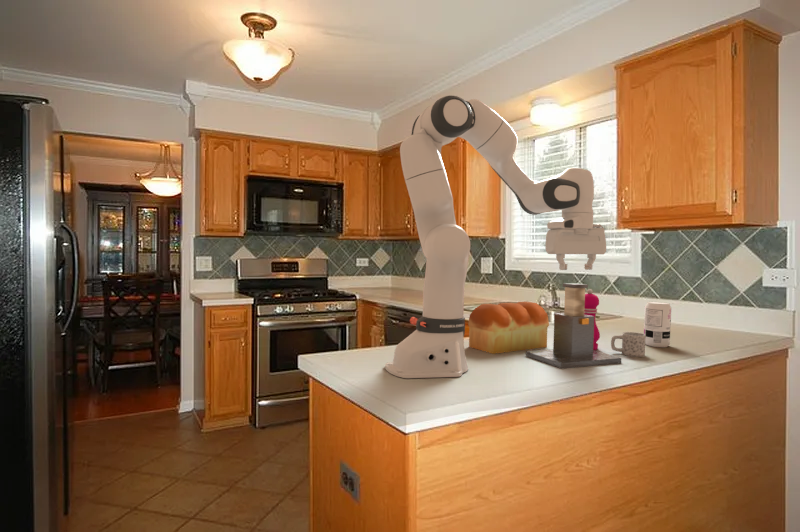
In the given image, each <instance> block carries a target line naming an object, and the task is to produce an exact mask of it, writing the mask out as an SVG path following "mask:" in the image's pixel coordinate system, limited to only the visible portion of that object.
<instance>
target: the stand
mask: <svg viewBox="0 0 800 532" xmlns="http://www.w3.org/2000/svg"><path fill="white" fill-rule="evenodd" d="M553 315H554V317H553V318H554V319H553V320H554V321H553V343H552V345H553V347H552V349H540V350H537V349H536V350H528V351H527V350H525V357H528V358H530V359H532V360H536V361H538V362H541V363H544V364H547V365H550V366H553V367H556V368H559V369H570V368H581V367H583V368H584V367H593V366H602V365H604V366H605V365H612V364H613V365H614V364H622V357H619V356H615V355H612V354H608V353H605V352H602V351H597V350H593V341H594V316H590V315H585V314H584V316H569V315H564V312H557V313H556V312H555V313H554V314H553Z"/></svg>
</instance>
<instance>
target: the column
mask: <svg viewBox="0 0 800 532" xmlns="http://www.w3.org/2000/svg"><path fill="white" fill-rule="evenodd" d="M588 286H589V284H586V283H576V282H574V283H573V282H571V283H569V282H568V283H567V282H563V283H562V287H563V288H564V311H563V313H564V315H569V316H584V307H585V294H586V289H589V287H588Z"/></svg>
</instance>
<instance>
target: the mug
mask: <svg viewBox="0 0 800 532" xmlns="http://www.w3.org/2000/svg"><path fill="white" fill-rule="evenodd" d="M611 337H612V338H611V341H610V346H611V347H610V348H611V349H612V350H613V351H615V352H620V353H621V354H622V355H624V356H628V357H634V358H642V357H645V356H646V344H645V339H646V335H645V334H644V333H642V332H634V331H632V332H631V331H625V332H622V334H618V335H613V336H611ZM618 339H619V340H621V341H622V343H621V347H616V346H615V341H616V340H618Z"/></svg>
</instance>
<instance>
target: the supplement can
mask: <svg viewBox="0 0 800 532" xmlns="http://www.w3.org/2000/svg"><path fill="white" fill-rule="evenodd" d="M643 321H644V322H643V334H645V335H646V339H645V346H649V347H654V348H668V347H669V346H670V344H671V325H672V306H671V304H670V303H669V302H663V301H647V302H646V304H645V306H644V320H643Z"/></svg>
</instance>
